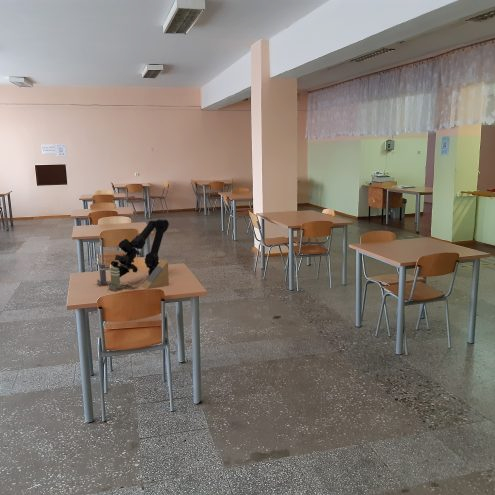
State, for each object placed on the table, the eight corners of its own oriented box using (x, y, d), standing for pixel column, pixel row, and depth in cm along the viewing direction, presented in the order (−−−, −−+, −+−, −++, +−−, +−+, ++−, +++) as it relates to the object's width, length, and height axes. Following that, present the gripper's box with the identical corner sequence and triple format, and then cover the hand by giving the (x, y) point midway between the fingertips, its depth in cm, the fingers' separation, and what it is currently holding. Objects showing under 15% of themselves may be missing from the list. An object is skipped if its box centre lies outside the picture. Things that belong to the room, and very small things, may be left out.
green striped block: (114, 286, 288) (113, 267, 285) (120, 287, 285) (119, 268, 282) (111, 287, 285) (109, 268, 283) (117, 288, 283) (115, 269, 280)
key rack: (109, 281, 302) (108, 277, 301) (127, 288, 287) (127, 283, 286) (95, 284, 295) (95, 280, 295) (113, 291, 280) (113, 287, 280)
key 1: (104, 281, 298) (103, 263, 296) (106, 283, 294) (105, 264, 291) (100, 282, 297) (98, 263, 294) (102, 284, 292) (101, 265, 290)
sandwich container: (140, 286, 292) (138, 262, 288) (163, 282, 300) (161, 259, 297) (145, 289, 285) (144, 265, 282) (169, 285, 293) (167, 261, 290)
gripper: (111, 248, 291) (98, 269, 284) (133, 251, 281) (120, 273, 274) (122, 257, 299) (109, 278, 292) (143, 261, 289) (131, 283, 282)
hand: (117, 278), depth 285 cm, fingers closed
